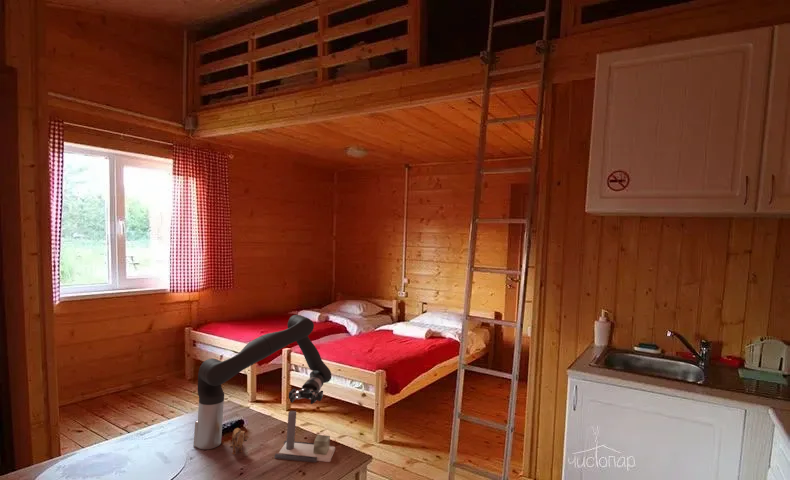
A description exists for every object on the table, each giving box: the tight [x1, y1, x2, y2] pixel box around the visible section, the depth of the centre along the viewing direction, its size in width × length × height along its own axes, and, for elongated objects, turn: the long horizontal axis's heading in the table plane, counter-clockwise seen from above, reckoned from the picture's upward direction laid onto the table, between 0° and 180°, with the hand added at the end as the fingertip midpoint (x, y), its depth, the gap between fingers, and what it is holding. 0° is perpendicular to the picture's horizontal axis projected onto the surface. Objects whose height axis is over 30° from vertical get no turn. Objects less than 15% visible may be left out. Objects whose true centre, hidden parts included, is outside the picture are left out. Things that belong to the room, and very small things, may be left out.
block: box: [313, 434, 331, 455], centre depth 162 cm, size 5×5×5 cm
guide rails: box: [274, 440, 318, 463], centre depth 163 cm, size 16×12×2 cm
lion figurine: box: [229, 427, 250, 455], centre depth 163 cm, size 15×5×9 cm, turn 34°
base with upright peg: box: [278, 410, 336, 463], centre depth 163 cm, size 20×9×16 cm, turn 86°
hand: (301, 401), depth 175 cm, fingers open, 8 cm apart
